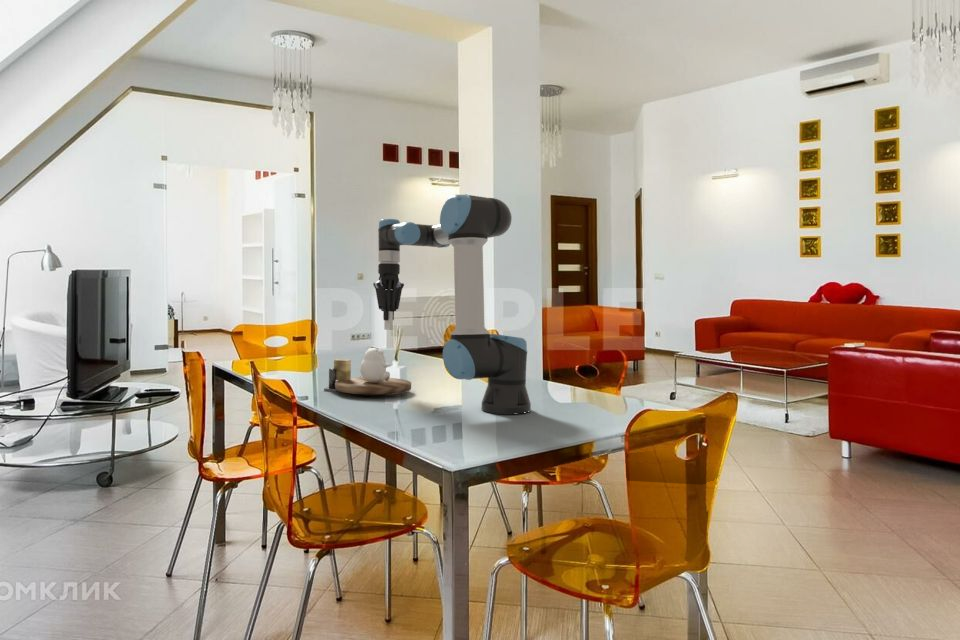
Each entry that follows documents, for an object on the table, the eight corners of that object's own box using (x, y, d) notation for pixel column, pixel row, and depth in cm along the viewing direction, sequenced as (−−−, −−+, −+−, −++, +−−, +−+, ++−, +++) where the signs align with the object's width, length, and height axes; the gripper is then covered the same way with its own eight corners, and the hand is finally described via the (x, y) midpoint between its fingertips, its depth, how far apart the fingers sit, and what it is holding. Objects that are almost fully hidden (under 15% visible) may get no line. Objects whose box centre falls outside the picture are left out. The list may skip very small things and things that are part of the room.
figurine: (366, 385, 229) (367, 349, 229) (354, 381, 237) (354, 347, 237) (393, 383, 235) (393, 348, 234) (380, 379, 243) (380, 346, 242)
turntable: (384, 380, 255) (385, 356, 255) (425, 390, 235) (426, 364, 234) (320, 385, 239) (320, 360, 238) (359, 397, 218) (359, 368, 218)
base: (397, 390, 243) (397, 369, 242) (388, 396, 229) (389, 374, 228) (331, 387, 245) (331, 366, 244) (318, 393, 231) (318, 371, 230)
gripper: (395, 264, 250) (394, 328, 251) (368, 262, 240) (367, 329, 241) (409, 263, 245) (409, 329, 246) (382, 262, 235) (382, 330, 236)
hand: (388, 329), depth 243 cm, fingers closed
